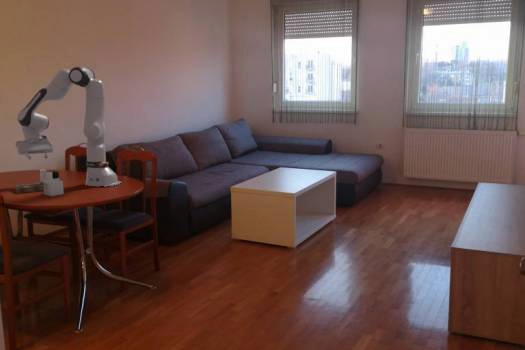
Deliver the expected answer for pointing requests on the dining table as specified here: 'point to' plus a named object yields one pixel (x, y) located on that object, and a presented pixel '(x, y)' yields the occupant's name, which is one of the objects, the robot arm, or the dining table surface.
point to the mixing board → (29, 187)
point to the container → (53, 184)
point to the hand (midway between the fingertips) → (38, 158)
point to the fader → (43, 176)
